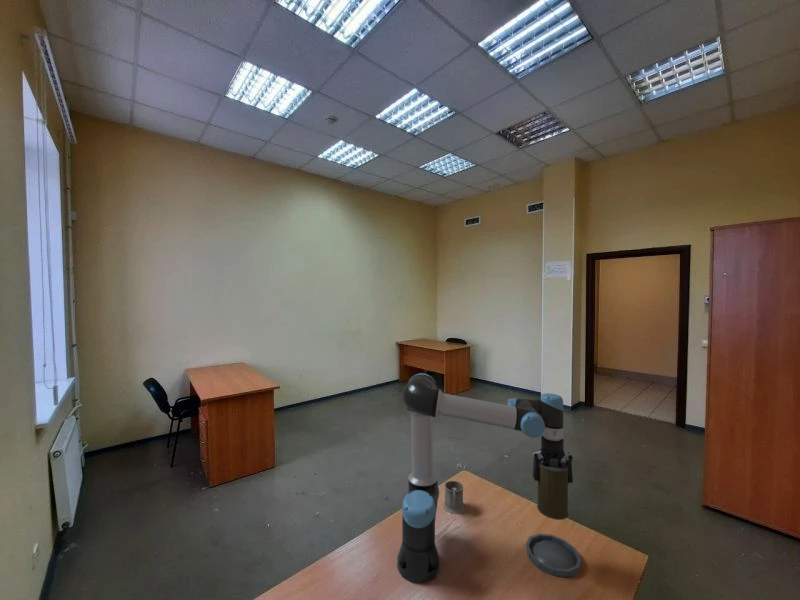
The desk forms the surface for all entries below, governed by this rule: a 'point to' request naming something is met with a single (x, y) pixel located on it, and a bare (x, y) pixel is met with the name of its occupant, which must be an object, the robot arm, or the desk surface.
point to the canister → (553, 489)
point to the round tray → (553, 555)
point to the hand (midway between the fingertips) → (552, 499)
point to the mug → (453, 497)
